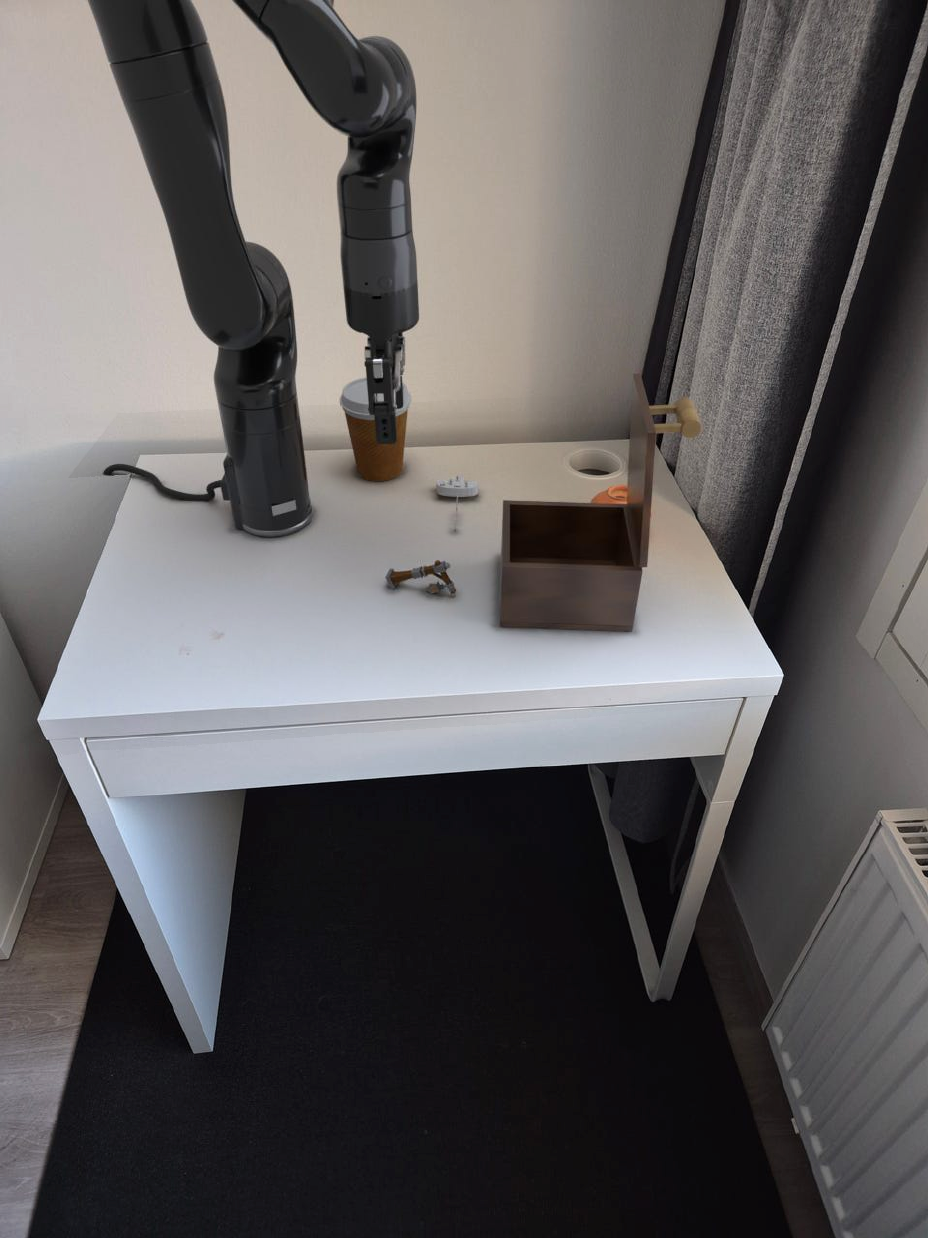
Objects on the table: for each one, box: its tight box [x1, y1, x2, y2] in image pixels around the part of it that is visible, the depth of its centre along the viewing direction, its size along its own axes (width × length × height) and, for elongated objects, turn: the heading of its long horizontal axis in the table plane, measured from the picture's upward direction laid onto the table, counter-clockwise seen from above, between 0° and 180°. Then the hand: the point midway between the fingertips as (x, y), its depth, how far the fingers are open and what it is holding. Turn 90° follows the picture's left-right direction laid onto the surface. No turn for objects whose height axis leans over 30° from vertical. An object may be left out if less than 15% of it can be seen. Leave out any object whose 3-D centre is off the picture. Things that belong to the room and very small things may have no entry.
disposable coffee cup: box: [339, 377, 412, 482], centre depth 118 cm, size 10×10×12 cm
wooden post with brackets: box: [384, 559, 457, 595], centre depth 100 cm, size 2×8×4 cm, turn 74°
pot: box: [589, 484, 653, 518], centre depth 108 cm, size 8×8×7 cm
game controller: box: [436, 475, 480, 533], centre depth 114 cm, size 6×12×3 cm, turn 16°
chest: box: [498, 499, 644, 632], centre depth 98 cm, size 15×13×8 cm
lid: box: [626, 372, 703, 568], centre depth 90 cm, size 15×13×6 cm
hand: (390, 424), depth 97 cm, fingers open, 8 cm apart
